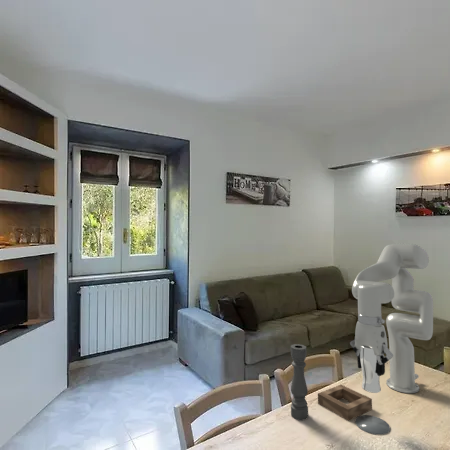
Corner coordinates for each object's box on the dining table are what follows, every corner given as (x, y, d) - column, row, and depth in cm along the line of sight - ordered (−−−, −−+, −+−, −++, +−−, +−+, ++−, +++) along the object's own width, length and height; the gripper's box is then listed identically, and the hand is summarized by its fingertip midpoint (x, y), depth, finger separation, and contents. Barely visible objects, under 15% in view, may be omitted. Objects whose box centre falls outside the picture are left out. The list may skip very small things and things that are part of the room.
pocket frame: (341, 394, 133) (341, 384, 133) (372, 409, 121) (371, 398, 121) (317, 403, 126) (317, 393, 126) (348, 421, 114) (348, 409, 114)
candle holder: (308, 412, 120) (307, 344, 121) (307, 421, 114) (306, 350, 115) (292, 409, 122) (291, 343, 123) (289, 418, 116) (288, 348, 117)
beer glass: (384, 394, 108) (384, 349, 108) (362, 392, 109) (362, 348, 110) (379, 385, 115) (378, 342, 115) (358, 383, 116) (357, 341, 116)
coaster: (367, 412, 119) (367, 411, 119) (396, 427, 110) (396, 426, 110) (348, 422, 113) (348, 421, 113) (377, 438, 104) (377, 437, 104)
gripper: (400, 323, 107) (401, 377, 107) (354, 313, 122) (356, 360, 121) (387, 327, 103) (388, 383, 103) (342, 316, 118) (343, 365, 117)
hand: (370, 370), depth 112 cm, fingers closed on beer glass, 6 cm apart
